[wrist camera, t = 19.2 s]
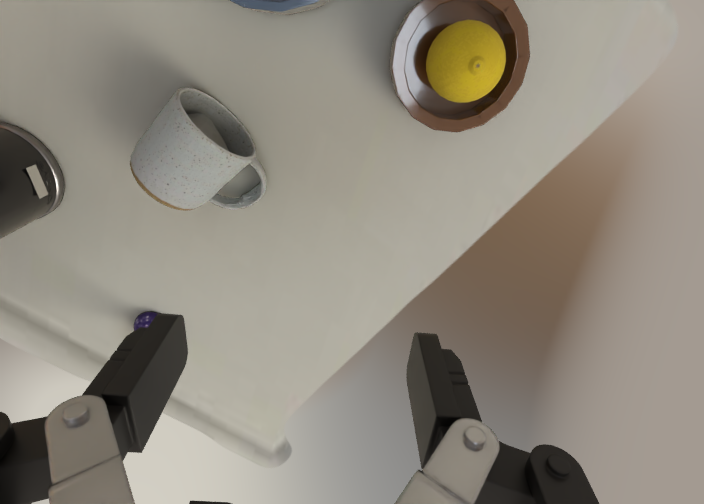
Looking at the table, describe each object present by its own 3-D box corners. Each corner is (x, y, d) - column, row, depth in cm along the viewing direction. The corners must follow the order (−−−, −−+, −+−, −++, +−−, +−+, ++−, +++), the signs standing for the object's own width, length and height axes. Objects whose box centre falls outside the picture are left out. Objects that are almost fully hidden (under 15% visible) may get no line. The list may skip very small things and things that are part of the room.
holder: (381, 117, 36) (384, 124, 33) (400, -21, 31) (404, -27, 28) (494, 129, 37) (507, 138, 34) (529, -5, 32) (548, -9, 29)
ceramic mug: (147, 145, 38) (102, 170, 31) (199, 80, 35) (162, 91, 28) (236, 219, 41) (213, 256, 35) (289, 166, 39) (276, 194, 32)
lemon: (462, 5, 31) (492, -5, 24) (499, 64, 33) (537, 70, 26) (405, 56, 33) (418, 61, 26) (444, 109, 35) (466, 127, 28)
